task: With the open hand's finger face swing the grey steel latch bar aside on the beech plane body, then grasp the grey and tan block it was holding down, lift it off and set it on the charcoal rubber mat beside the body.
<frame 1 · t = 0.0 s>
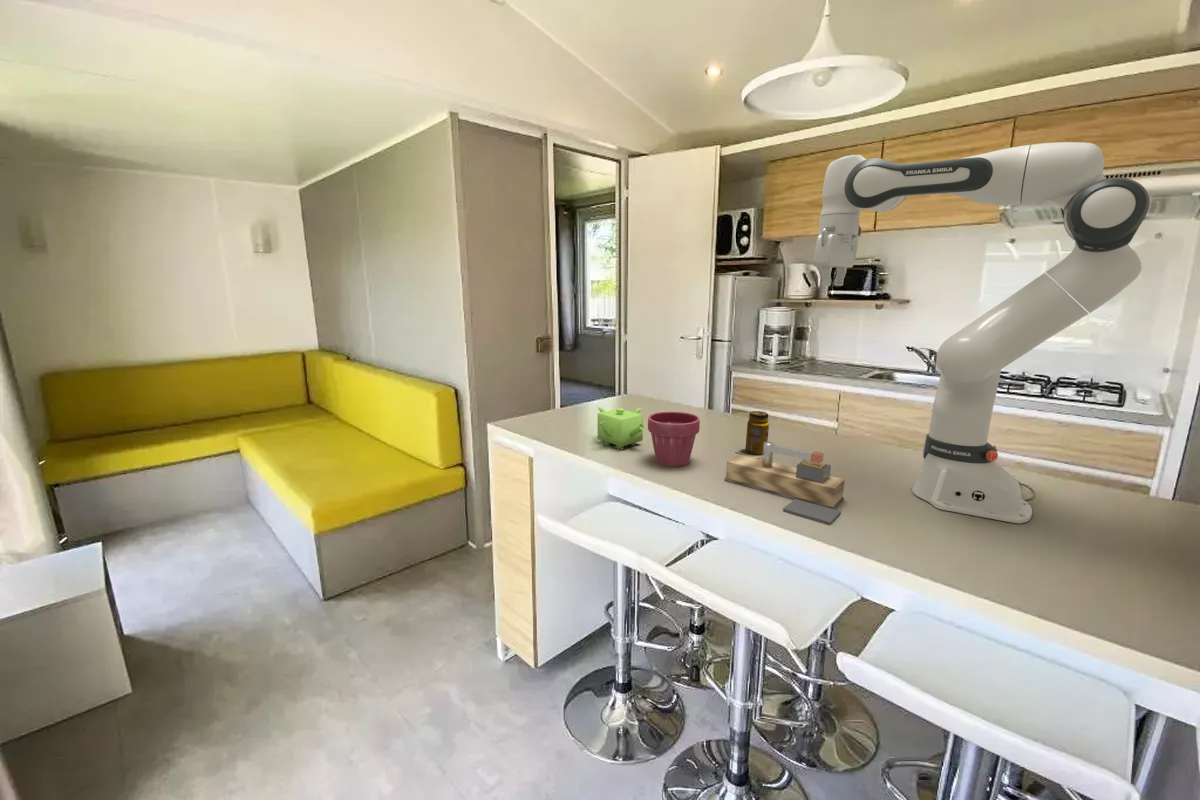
hand: (832, 286, 130), 48 cm above the kitchen island, fingers open, 8 cm apart
plant pot: (672, 461, 145), on the kitchen island
mat: (811, 512, 113), on the kitchen island
grey and tan block: (812, 477, 120), point 5 cm above the kitchen island, touching plane body
plane body: (781, 489, 125), on the kitchen island
latch lever: (791, 459, 123), point 8 cm above the kitchen island, hinge at 0.0°
kettle: (620, 443, 161), on the kitchen island
condiment: (753, 453, 152), on the kitchen island
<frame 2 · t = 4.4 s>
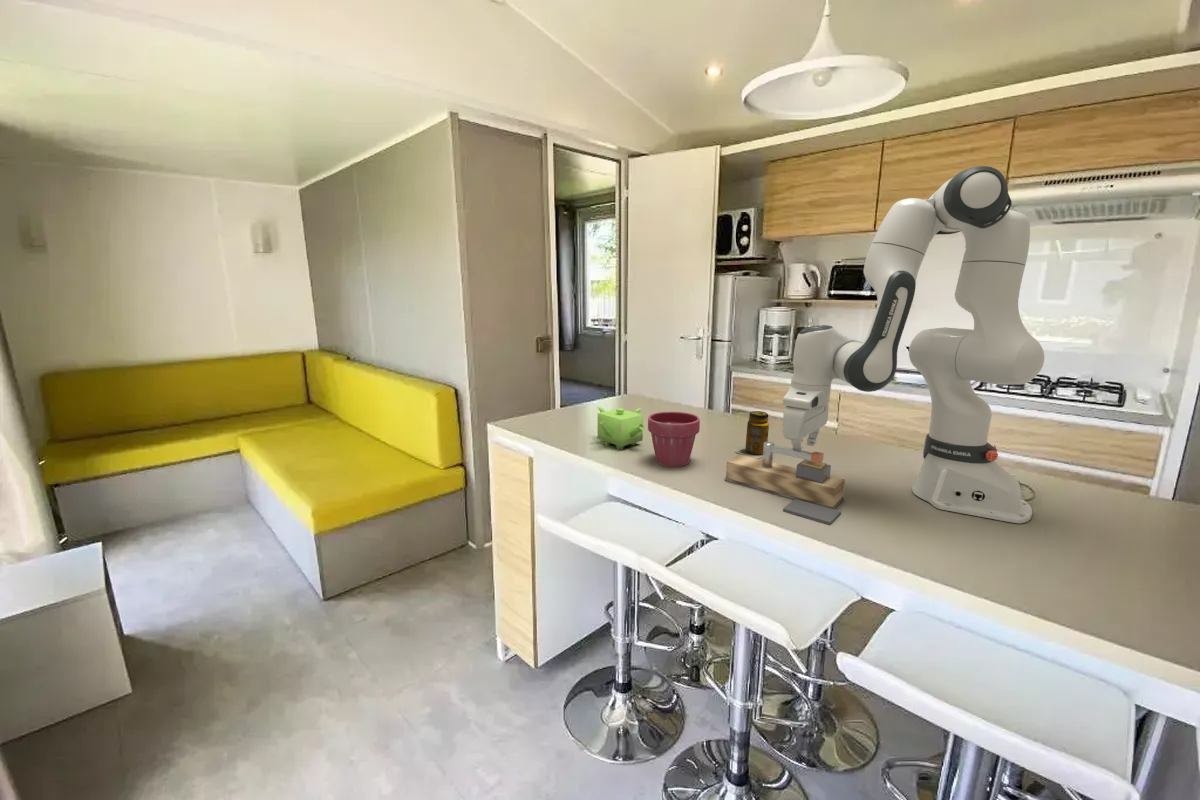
hand: (804, 449, 126), 9 cm above the kitchen island, fingers open, 8 cm apart
latch lever: (791, 459, 123), point 8 cm above the kitchen island, hinge at 0.0°, touching gripper
everything else where it was.
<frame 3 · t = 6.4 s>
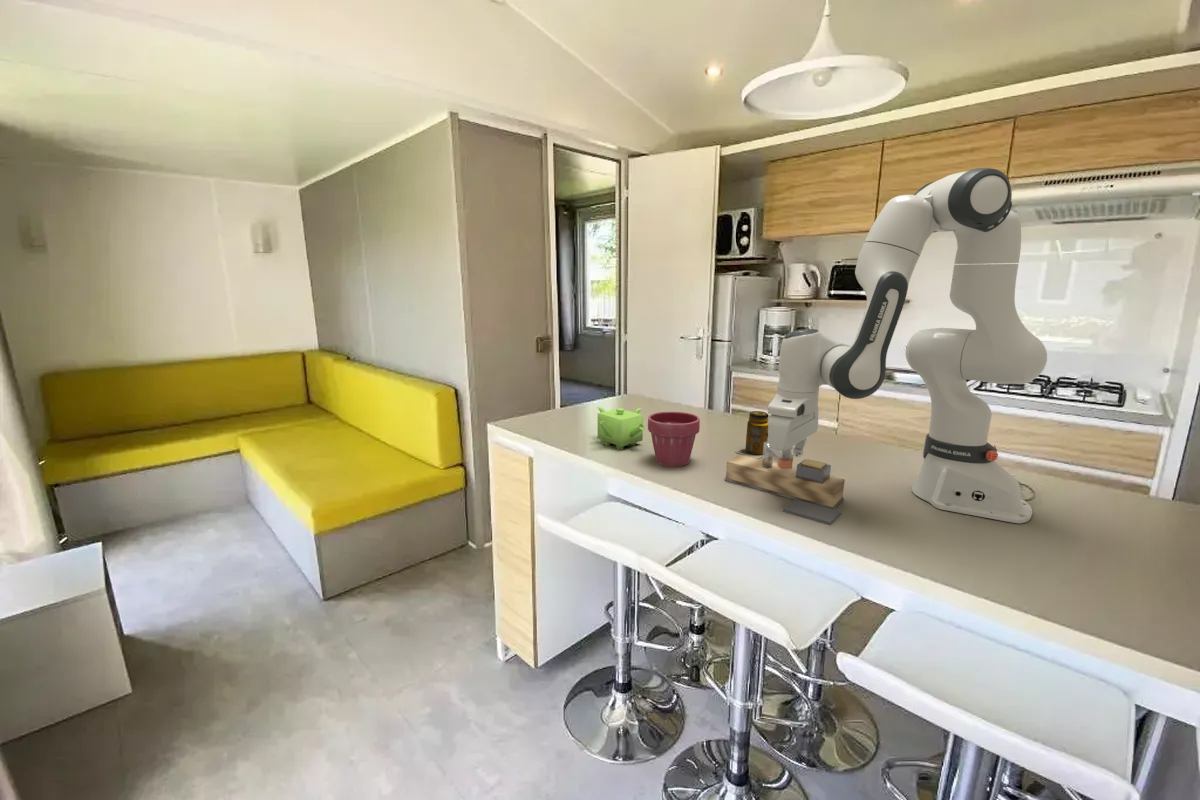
hand: (792, 459, 121), 9 cm above the kitchen island, fingers open, 4 cm apart
latch lever: (775, 462, 121), point 8 cm above the kitchen island, hinge at 49.0°, touching gripper
everything else where it was.
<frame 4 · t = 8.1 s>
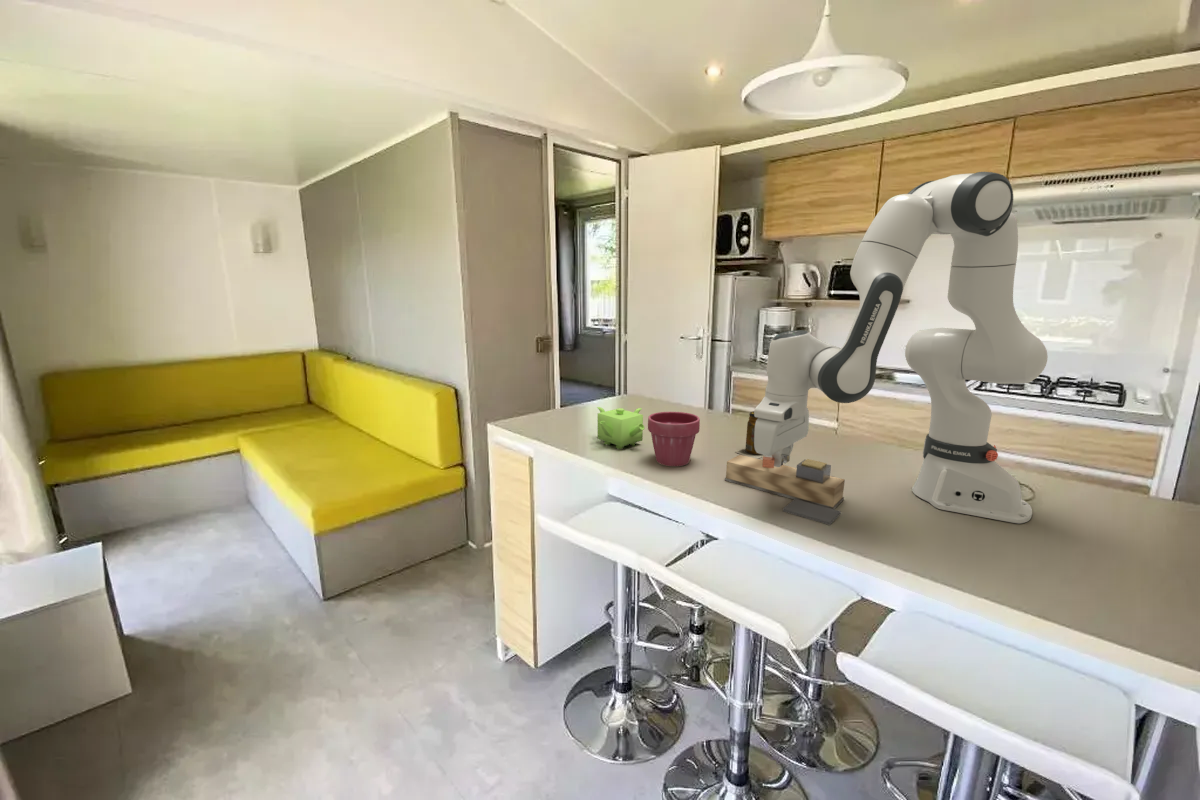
hand: (781, 464, 117), 9 cm above the kitchen island, fingers closed
latch lever: (767, 462, 121), point 8 cm above the kitchen island, hinge at 67.0°, touching gripper
everything else where it was.
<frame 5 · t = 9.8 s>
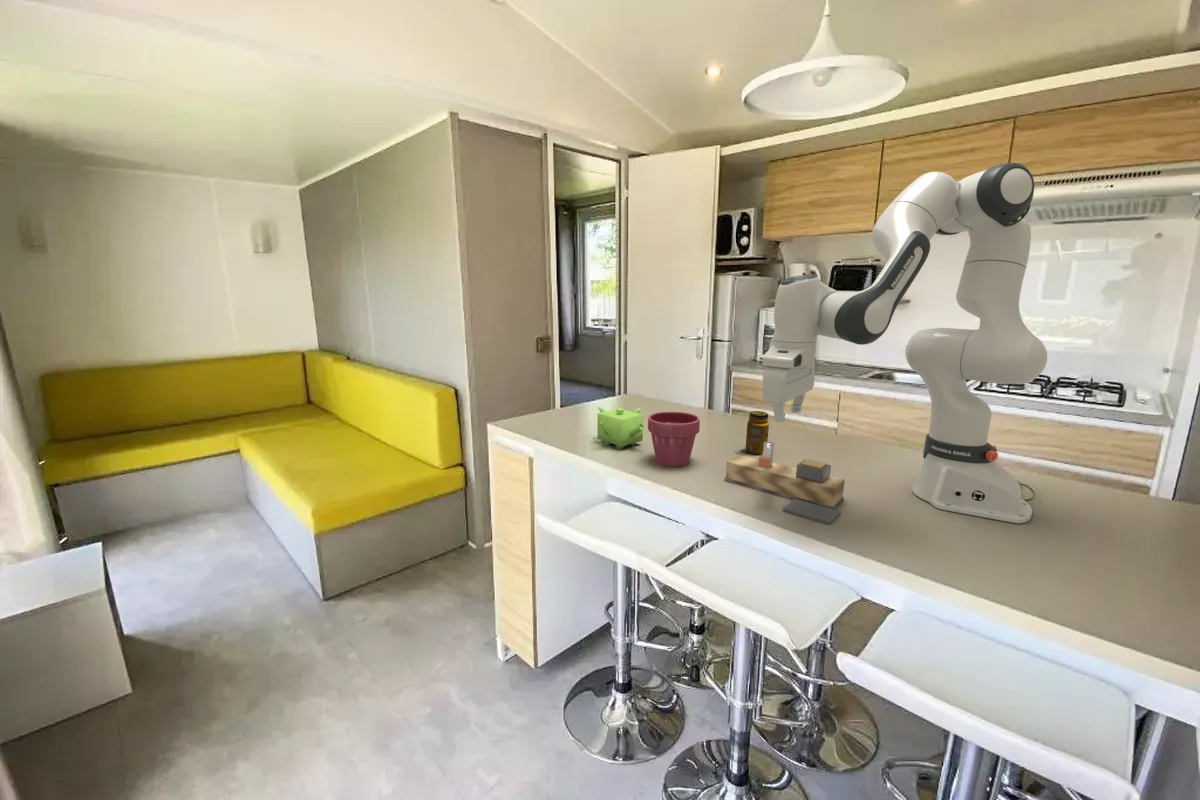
hand: (787, 416, 113), 20 cm above the kitchen island, fingers open, 8 cm apart
latch lever: (766, 462, 121), point 8 cm above the kitchen island, hinge at 70.7°
everything else where it was.
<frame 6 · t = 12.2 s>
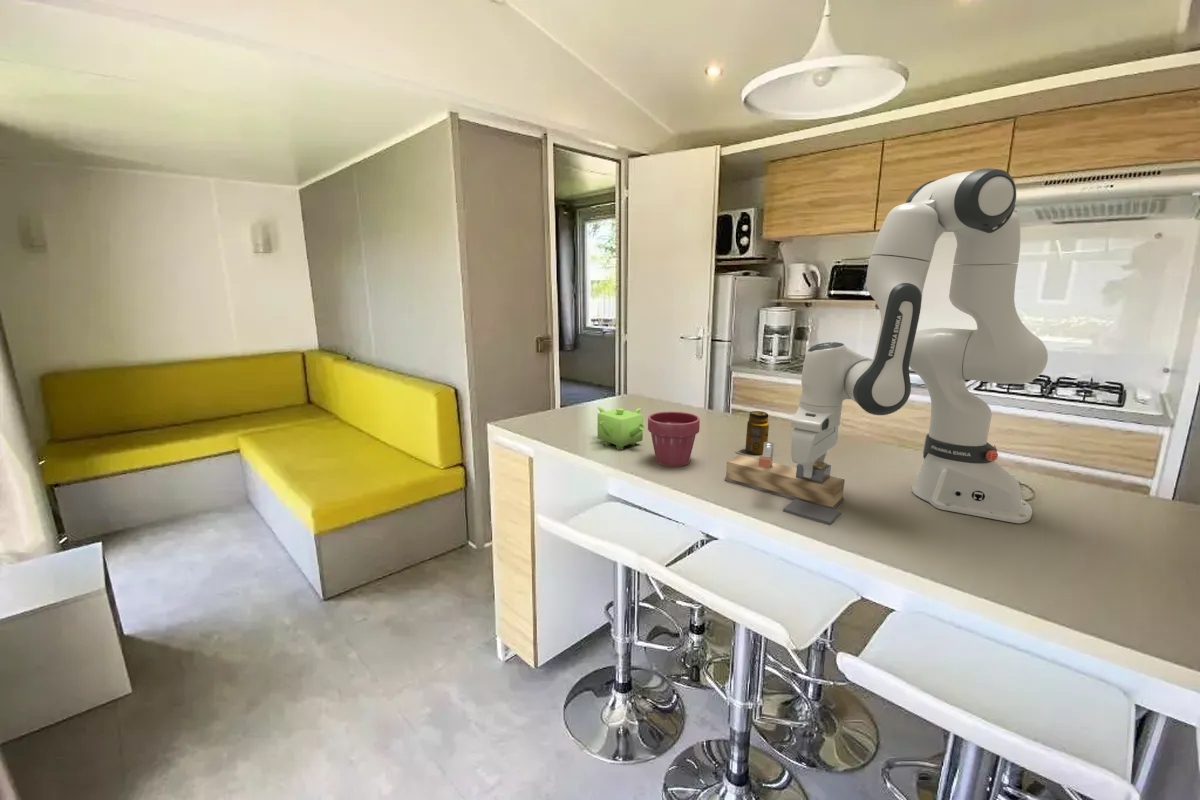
hand: (813, 472, 120), 6 cm above the kitchen island, fingers closed on grey and tan block, 5 cm apart
grey and tan block: (812, 477, 120), point 5 cm above the kitchen island, touching gripper, plane body
everything else where it was.
when the fingers open (4 cm above the kitchen island, at t = 17.5 s): grey and tan block drops 2 cm, resting on mat.
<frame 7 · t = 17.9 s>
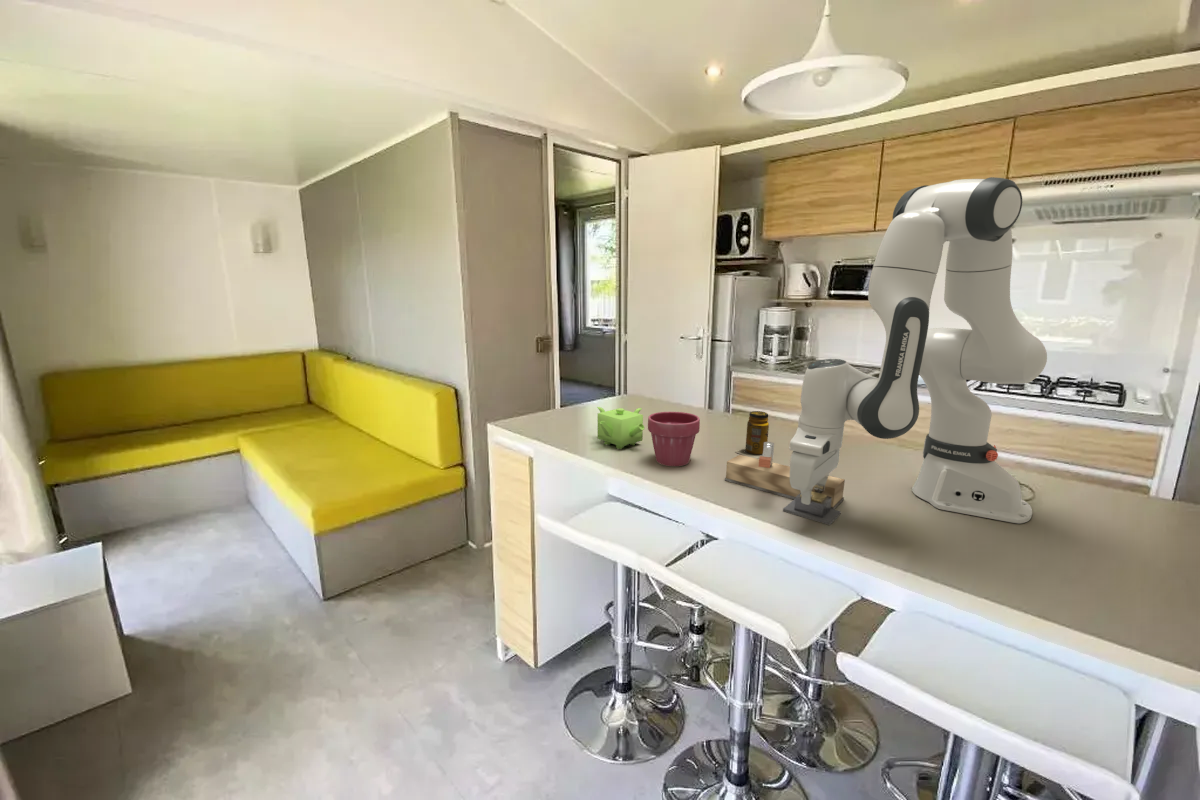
hand: (813, 497, 112), 4 cm above the kitchen island, fingers open, 7 cm apart
grey and tan block: (812, 509, 113), point 1 cm above the kitchen island, touching mat
everything else where it was.
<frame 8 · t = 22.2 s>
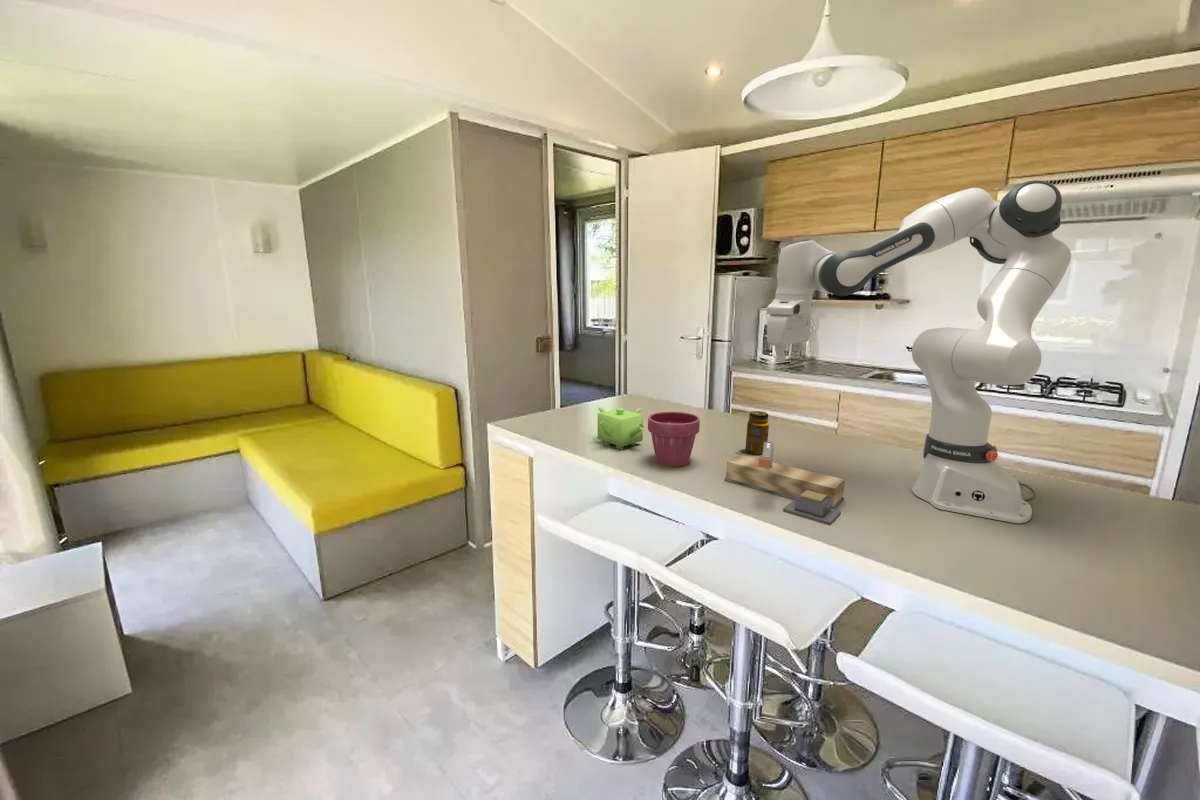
hand: (787, 360, 135), 29 cm above the kitchen island, fingers open, 8 cm apart
nothing on the kitchen island moved.
at the end: latch lever at +71° (first picture: +0°); grey and tan block inside the target area on the mat (0.1 cm from its centre), point 0.6 cm above the mat's base; grey and tan block tilted 0° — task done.
